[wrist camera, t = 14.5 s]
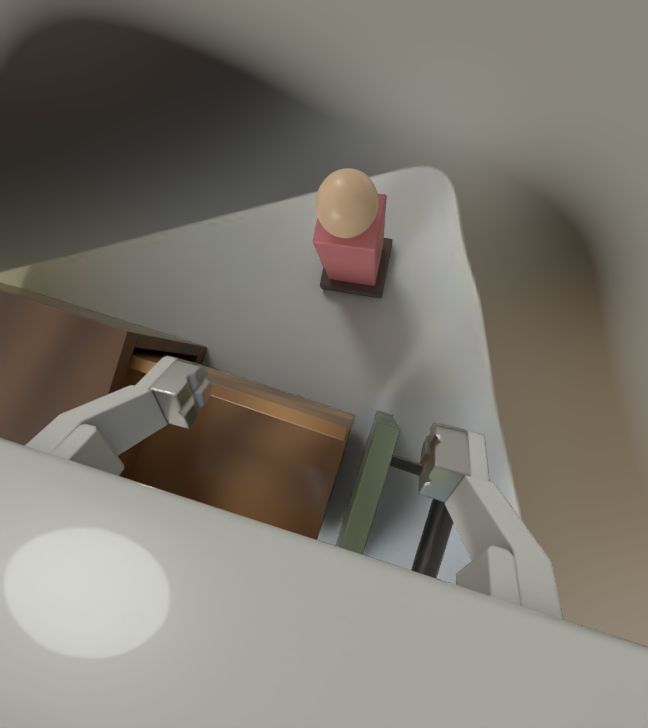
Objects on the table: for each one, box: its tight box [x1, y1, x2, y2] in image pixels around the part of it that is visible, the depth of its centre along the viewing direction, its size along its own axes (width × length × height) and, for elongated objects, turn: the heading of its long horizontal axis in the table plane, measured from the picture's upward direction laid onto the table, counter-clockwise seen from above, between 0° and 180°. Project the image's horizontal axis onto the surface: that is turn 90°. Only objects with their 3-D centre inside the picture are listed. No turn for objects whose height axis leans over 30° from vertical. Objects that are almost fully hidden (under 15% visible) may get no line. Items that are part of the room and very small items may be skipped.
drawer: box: [118, 349, 453, 578], centre depth 21 cm, size 23×13×7 cm, turn 73°
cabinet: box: [0, 283, 206, 446], centre depth 24 cm, size 20×14×9 cm
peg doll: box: [313, 168, 392, 298], centre depth 20 cm, size 4×5×11 cm
